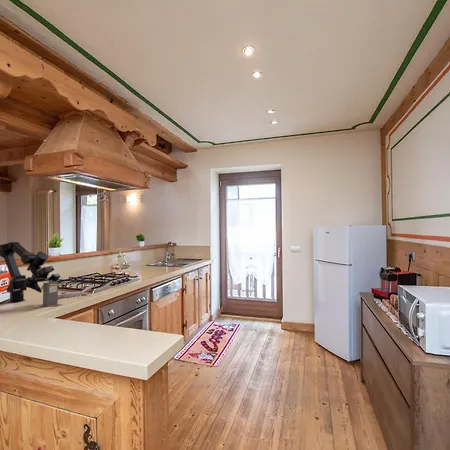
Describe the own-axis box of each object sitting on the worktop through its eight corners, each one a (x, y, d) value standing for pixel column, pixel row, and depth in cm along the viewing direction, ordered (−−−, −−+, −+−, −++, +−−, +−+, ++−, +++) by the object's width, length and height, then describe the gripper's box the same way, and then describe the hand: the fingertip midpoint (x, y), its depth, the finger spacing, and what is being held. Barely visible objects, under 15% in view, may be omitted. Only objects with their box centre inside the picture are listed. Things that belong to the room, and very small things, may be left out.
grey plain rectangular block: (42, 305, 154) (43, 282, 154) (53, 303, 159) (53, 281, 160) (47, 306, 152) (48, 283, 153) (57, 304, 157) (58, 281, 158)
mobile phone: (94, 285, 188) (52, 290, 170) (94, 294, 187) (52, 300, 170) (91, 285, 192) (50, 289, 175) (91, 293, 191) (50, 298, 174)
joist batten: (38, 305, 155) (38, 305, 155) (45, 303, 159) (45, 303, 159) (55, 306, 152) (55, 306, 152) (62, 304, 156) (62, 303, 156)
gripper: (27, 263, 151) (39, 284, 146) (58, 260, 168) (70, 279, 163) (17, 276, 153) (29, 297, 149) (49, 272, 171) (61, 291, 166)
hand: (49, 290), depth 156 cm, fingers open, 9 cm apart
